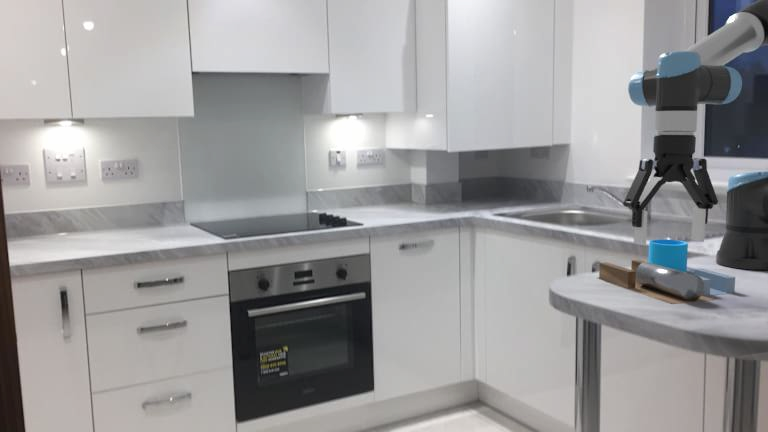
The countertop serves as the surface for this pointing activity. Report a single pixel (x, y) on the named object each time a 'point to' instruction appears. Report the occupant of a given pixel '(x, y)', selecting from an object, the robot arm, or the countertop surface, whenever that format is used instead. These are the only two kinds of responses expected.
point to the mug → (669, 254)
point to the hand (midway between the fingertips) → (669, 242)
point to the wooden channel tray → (628, 281)
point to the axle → (670, 281)
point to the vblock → (716, 282)
